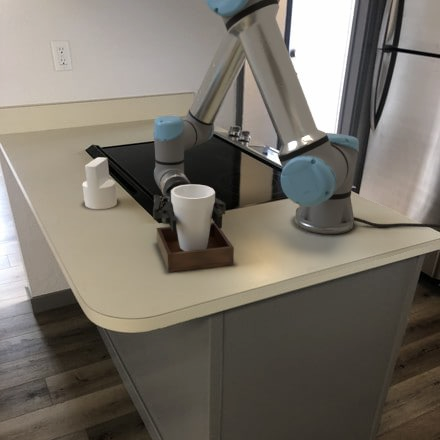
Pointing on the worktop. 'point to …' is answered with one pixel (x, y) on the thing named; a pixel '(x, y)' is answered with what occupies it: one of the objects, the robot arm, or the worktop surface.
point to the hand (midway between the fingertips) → (197, 224)
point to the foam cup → (193, 215)
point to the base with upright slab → (99, 185)
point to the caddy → (194, 251)
